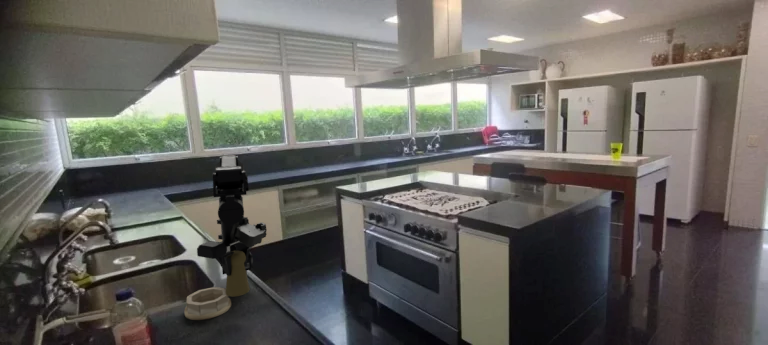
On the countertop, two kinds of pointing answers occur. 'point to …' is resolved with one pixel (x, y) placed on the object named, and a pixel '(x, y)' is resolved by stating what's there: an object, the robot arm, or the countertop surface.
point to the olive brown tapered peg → (237, 276)
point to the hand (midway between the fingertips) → (236, 271)
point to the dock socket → (207, 303)
